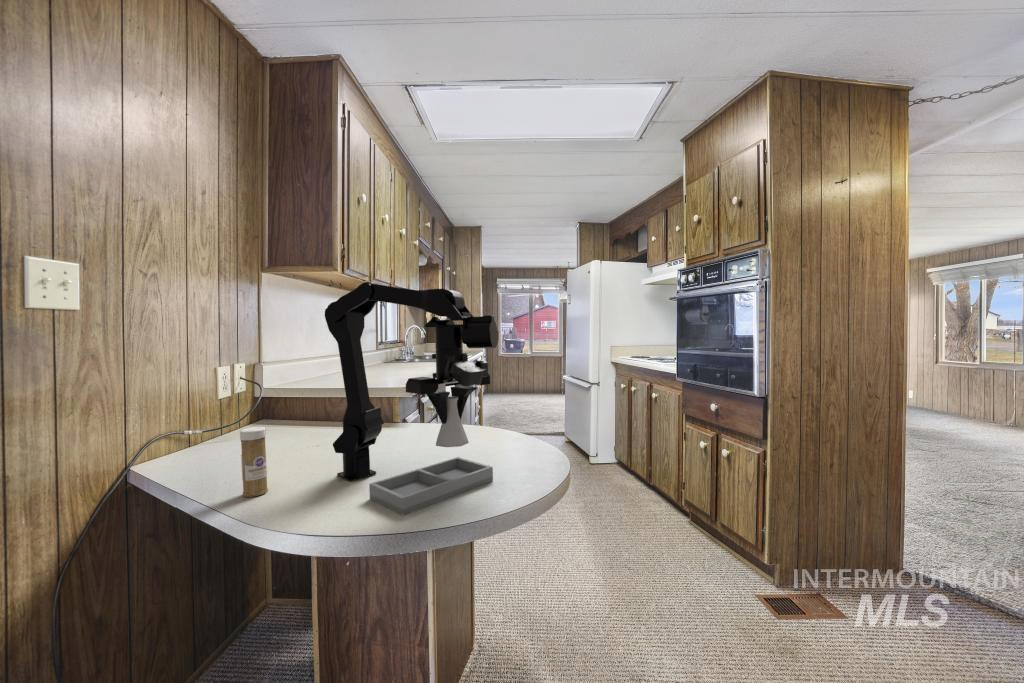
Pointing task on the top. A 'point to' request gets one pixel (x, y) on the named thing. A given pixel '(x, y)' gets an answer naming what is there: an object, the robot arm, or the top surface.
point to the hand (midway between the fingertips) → (451, 421)
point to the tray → (429, 484)
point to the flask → (452, 427)
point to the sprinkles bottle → (253, 461)
